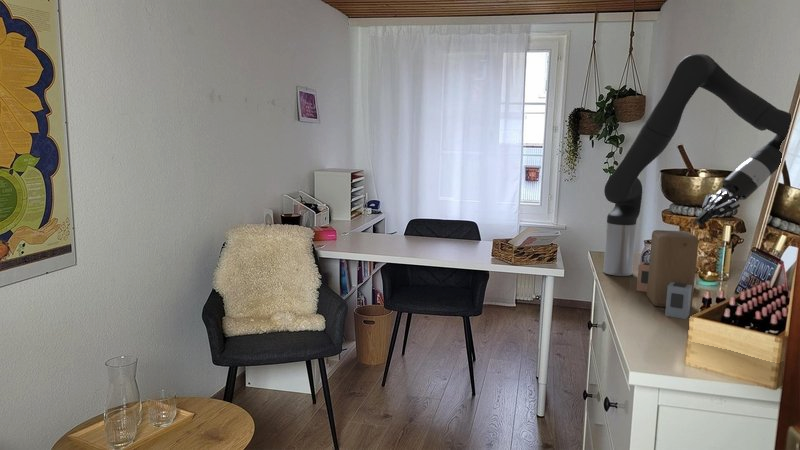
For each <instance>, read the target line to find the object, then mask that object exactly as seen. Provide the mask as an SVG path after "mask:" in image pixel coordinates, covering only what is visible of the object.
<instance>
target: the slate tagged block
mask: <svg viewBox="0 0 800 450" xmlns="http://www.w3.org/2000/svg"><path fill="white" fill-rule="evenodd" d="M691 292H692V285H688V284H682V283H676V282H671V283H670V284H669V285H668V288H667V299H666V307H665V312H664V313H665V314H664V316H667V317H671V318H676V319H683V320H686V319H688V318H689V316H690V311H691V308H690V302H691Z"/></svg>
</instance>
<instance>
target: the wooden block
mask: <svg viewBox="0 0 800 450" xmlns="http://www.w3.org/2000/svg"><path fill="white" fill-rule="evenodd" d="M650 240H651V242H650V251H649V252H650V254H649V274H648V286H647V292H646V297H647V298H648V300H649V301H650V302H651V304H652V305H653V306H655V307H662V308H666V299H667V288H668V285H669V284H670V283H671V282H676V283H682V284H688V285H692V292H691V302H690V309H691V308H692V306H693V299H694V290H695V287H694V281H695V280H696V268H697V259H698V251H699V238H698V237H697V236H696V235H693V234H692V233H691V232H689V231H682V230H680V231H679V230H662V229H656V230H653V231H652V232H651V239H650Z"/></svg>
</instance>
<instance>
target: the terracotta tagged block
mask: <svg viewBox="0 0 800 450" xmlns="http://www.w3.org/2000/svg"><path fill="white" fill-rule="evenodd" d="M649 263H650V261H649V262H647V261H642V262H640V263H639V264H638V267H637V279H636V280H637V281H636V291H639V292H643V293H647V286H648V274H649Z"/></svg>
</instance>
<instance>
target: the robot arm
mask: <svg viewBox="0 0 800 450" xmlns="http://www.w3.org/2000/svg"><path fill="white" fill-rule="evenodd" d="M699 88H701V89H704V90H706V91H708V92H710V93H712V94H713V95H715V96H716V97H718V98H719V99H720V100H722V101H723V103H725V104H726V105H727V106H728V107H729V108H730V109H731V111H733V113H735V114H736V115H737V116H738V117H739V118H741V119H743V120H744V121H745V122H746V123H747V124H749V125H750V126H752V127H753V128H755V129H757V130H759V131H761V132H762V131H766V130H768V131H770V132H772V133H773V134H775V135H774V136H773V137H772V138H771V140H770V141H769V142H767V144H765V145H764V146H762V147H760V148H758V150H756V151H755V152H754V153H753V154H752V155H751V156H750V157H748V158H747V159H746V160H745V161H743V162H742V163H741V164H739V166H737V167H736V168H735V169H734V170H733V171H732V172H731V173H729V175H728V176H726V177H725V178H724V179H723V181H722V182H721V183H722V188H720V189H718V190H717V191H716V193H715V194H710V193H708V194H706V196H705V198H704V200H703V203H702V206H701V207H702V209H703V211H702V212H700V214H699V215H697V217H695V218H694V222H696V224H698V225H699V226H704V225H705V224H706V223H708V221H709V220H710V219H712V218H714V217H716V216H718V217H722V216H724V215H726V214H727V213H729V212H732V211H734V210H736V209H738V208H740V207H741V205H740V204H739V201H740V200H741V201H744V200H747V199H748V198H749V197H750V196H751V195H752V194H754V193H755V191H757V190H758V189H759V188H760V187H762V185H763V184H764V183H765V182H766V181H767V180H768V179H769V177H770V176H771V175H773V174H774V173H775V172H776V171H777V170H778V169H779V168H780V167H779V165H780V163H781V158H782V153H781V152H780V151H779V149H780V145H781V143H782V141H783V140H784V139H785V137H786V135H787V133H788V129H789V125H790V122H791V114H792V113H790V112H788V111H784V110H782V109H779V108H777V107H776V106H774V105H773V104H771V103H770V102H769V101H767V100H766V99H764V98H763V97H761V96H760V95H758V94H756V93H755V92H754V91H752V90H750V89H749V88H748V87H746V86H745V85H742V84H741V83H739V82H738V81H737V79H735V78H733V77H732V76H731V75H730V74H728V73H727V71H726V70H724V69H723V68H722V67H721V66H720V64H719V63H718V62H717V61H715V60H714V59H713V58H712V57H711V56H709V55H708V54H704V53H694V54H689V55H686V56H685V57H684V58H682V59H681V60H680V61H679V62H678V64H677V66H676V67H675V70H674V72H673V74H672V76H671V78H670V81H669V82H668V85H667V87H666V89H665V91H664V93H663V94H662V96H661V98H660V99H659V100H658V102H657V104H656V105H655V106H654V108H653V110H652V111H651V113H650V114H649V116H648V117H647V119H646V120H645V122H644V123H643V125H642V127H641V129H640V130H639V132H638V134H637V136H636V138H635V140H634V141H633V142H632V144H631V146H630V147H629V149H628V151H627V152H626V154H625V156H624V158H623V159H622V161H620V163H619V164H618V166H617V167H616V168H615V170H614V171H613V172H612V174H611V175H610V177H609V178H608V180H607V181H606V183H605V185H604V191H603V192H604V196H605V199H606V201H608V202H609V203H612V204H615V205H614V207H613V209H612V210H611V211H610V212H608V214H607V217H606V228H605V242H604V243H605V244H604V245H605V246H604V255H603V256H604V259H603V267H602V268H603V269H602V270H603V271H602V272H603V273H604V274H606V275H609V276H610V275H611V276H617V277H629V276H632V275H633V268H634V267H633V266H634V254H635V244H636V234H637V233H636V231H637V220H638V218H639V216H640V213H641V206H642V205H641V204H642V199H643V185H642V182H641V180H640V178H639V175H640V174H641V173H642V172H643V170H644V169H645V168H646V167H647V166H648V165H650V164H651V163H652V162H653V161H654V160H655V159H657V158H658V157H659V156H660V155H661V154H662V153H663V152H664V150H665V149H666V148H667V147H668V145H669V144H670V142H671V141H672V138H673V137H674V136H675V134H676V132H677V131H678V127H679V125H680V122H681V119H682V116H683V113H684V110H685V108H686V106H687V104H688V103H689V102H690V100H691V98H693V96H694V94H695V93H696V91H698V89H699ZM778 167H779V168H778Z"/></svg>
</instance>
